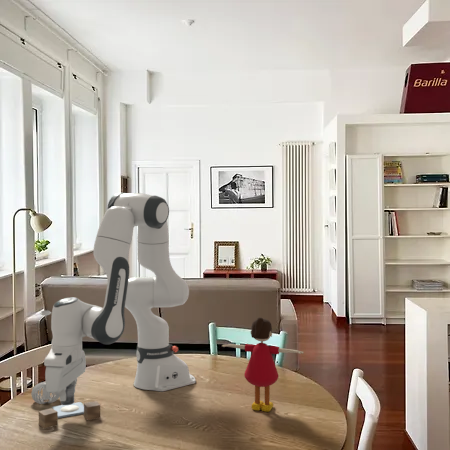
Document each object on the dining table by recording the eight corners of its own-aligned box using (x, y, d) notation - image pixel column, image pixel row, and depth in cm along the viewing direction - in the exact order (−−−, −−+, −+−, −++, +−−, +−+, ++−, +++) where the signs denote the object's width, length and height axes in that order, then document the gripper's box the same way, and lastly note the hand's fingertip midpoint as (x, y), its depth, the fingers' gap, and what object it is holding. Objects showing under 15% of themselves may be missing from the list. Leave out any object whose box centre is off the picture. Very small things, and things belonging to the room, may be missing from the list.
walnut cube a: (96, 413, 166) (96, 400, 166) (100, 418, 162) (100, 405, 162) (84, 415, 164) (83, 403, 164) (87, 420, 161) (87, 407, 160)
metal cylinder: (76, 400, 163) (76, 384, 163) (70, 405, 159) (70, 389, 159) (64, 399, 164) (63, 383, 164) (58, 404, 160) (58, 388, 160)
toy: (305, 409, 169) (306, 315, 169) (299, 422, 159) (299, 322, 158) (226, 399, 178) (227, 310, 177) (215, 411, 168) (215, 316, 167)
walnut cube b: (51, 421, 160) (51, 408, 160) (57, 425, 157) (57, 411, 157) (38, 424, 157) (38, 411, 157) (44, 429, 154) (44, 415, 154)
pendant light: (52, 407, 171) (51, 314, 170) (25, 405, 172) (24, 313, 172) (66, 397, 180) (65, 309, 179) (41, 395, 182) (40, 308, 181)
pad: (80, 403, 174) (80, 401, 174) (87, 413, 166) (87, 410, 166) (52, 408, 170) (52, 406, 170) (58, 418, 162) (58, 416, 162)
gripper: (71, 342, 171) (72, 384, 172) (41, 362, 151) (41, 409, 152) (90, 342, 171) (91, 385, 171) (61, 363, 150) (62, 411, 151)
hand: (67, 396), depth 162 cm, fingers closed on metal cylinder, 4 cm apart
